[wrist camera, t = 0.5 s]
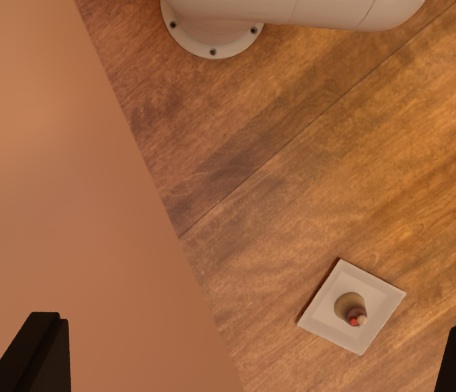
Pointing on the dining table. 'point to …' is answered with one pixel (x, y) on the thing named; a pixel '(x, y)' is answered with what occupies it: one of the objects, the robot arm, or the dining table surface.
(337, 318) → the dessert
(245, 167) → the dining table surface
